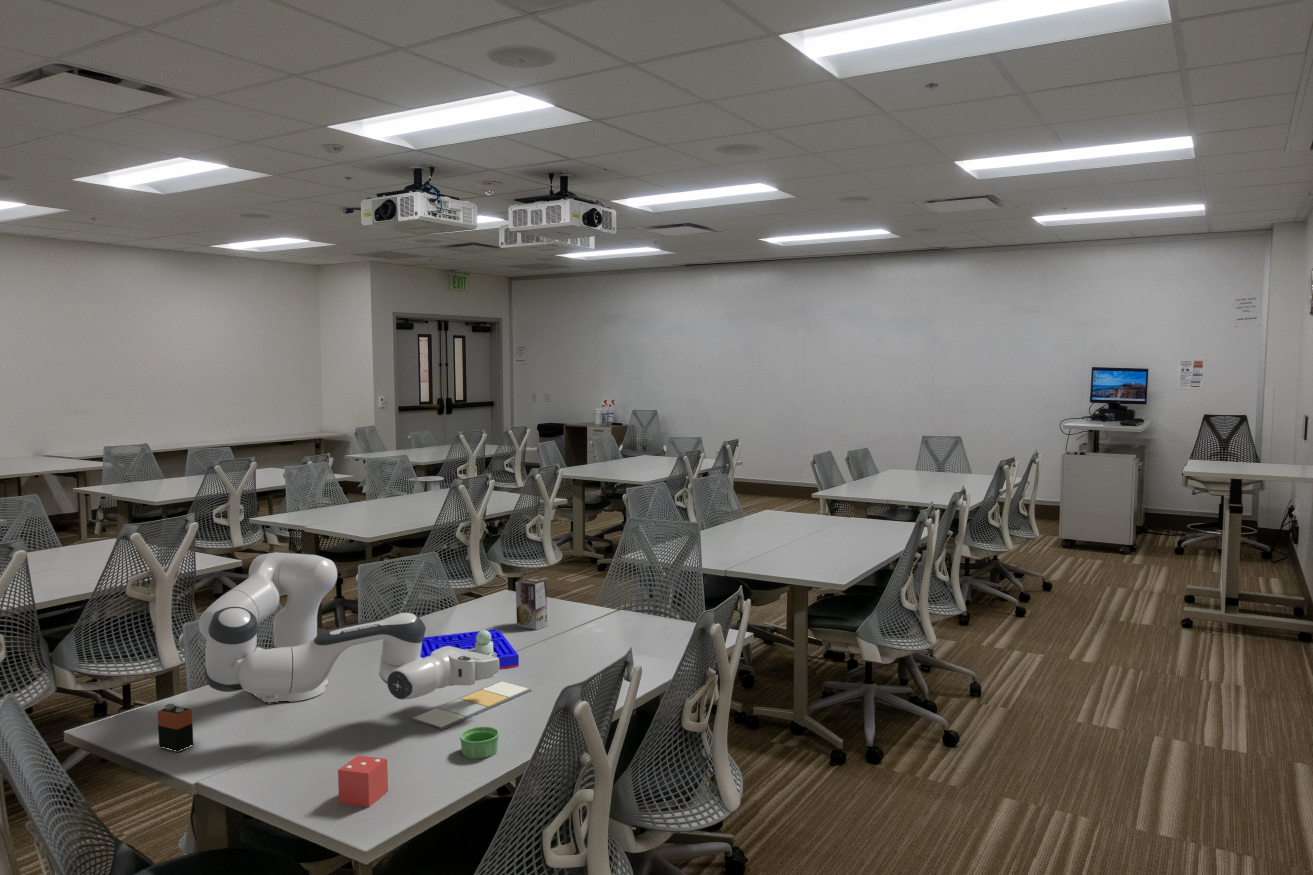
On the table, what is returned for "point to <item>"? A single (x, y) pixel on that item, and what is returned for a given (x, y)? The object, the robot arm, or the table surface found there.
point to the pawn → (484, 644)
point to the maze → (473, 646)
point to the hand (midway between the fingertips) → (486, 652)
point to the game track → (470, 705)
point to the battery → (175, 727)
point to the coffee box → (531, 603)
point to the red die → (363, 781)
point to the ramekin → (479, 742)
